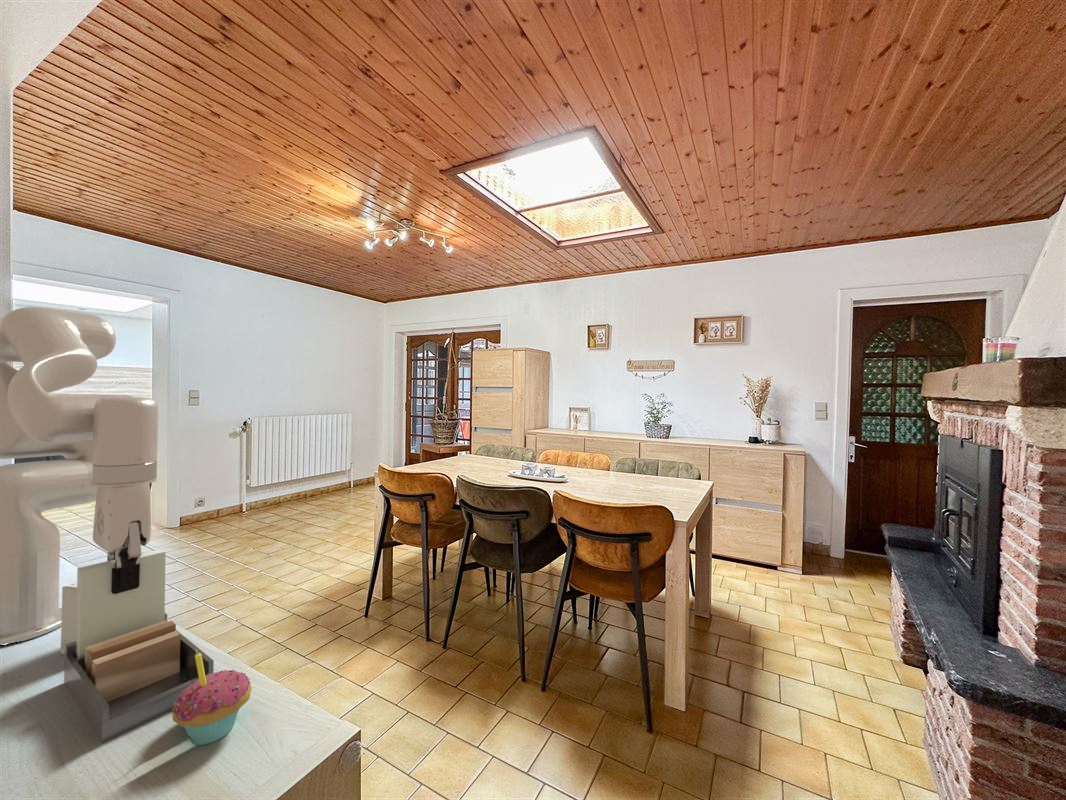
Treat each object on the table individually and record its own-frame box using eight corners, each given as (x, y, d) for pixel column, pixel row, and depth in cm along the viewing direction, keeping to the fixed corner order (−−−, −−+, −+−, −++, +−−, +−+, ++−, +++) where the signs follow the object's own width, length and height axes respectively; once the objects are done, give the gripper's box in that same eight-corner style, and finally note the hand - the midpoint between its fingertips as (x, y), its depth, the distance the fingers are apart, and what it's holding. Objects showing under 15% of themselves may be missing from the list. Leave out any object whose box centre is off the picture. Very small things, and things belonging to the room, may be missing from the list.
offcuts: (84, 691, 63) (85, 644, 63) (166, 659, 71) (167, 617, 71) (95, 707, 60) (96, 657, 60) (179, 671, 68) (180, 627, 68)
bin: (63, 690, 65) (64, 644, 65) (164, 652, 75) (164, 612, 75) (101, 752, 54) (102, 696, 54) (212, 697, 64) (213, 651, 64)
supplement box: (92, 667, 71) (94, 590, 71) (58, 660, 72) (60, 585, 72) (141, 642, 78) (142, 573, 78) (109, 637, 80) (111, 569, 80)
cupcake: (187, 768, 52) (189, 670, 52) (160, 737, 57) (161, 647, 57) (262, 723, 59) (264, 637, 59) (233, 699, 64) (234, 619, 64)
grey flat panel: (76, 665, 65) (77, 568, 65) (159, 635, 74) (161, 549, 74) (79, 670, 64) (80, 571, 64) (164, 639, 73) (165, 551, 72)
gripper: (79, 471, 70) (76, 583, 70) (108, 484, 61) (104, 612, 61) (139, 465, 76) (137, 568, 76) (173, 477, 68) (170, 593, 68)
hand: (122, 587), depth 69 cm, fingers closed on grey flat panel, 2 cm apart
